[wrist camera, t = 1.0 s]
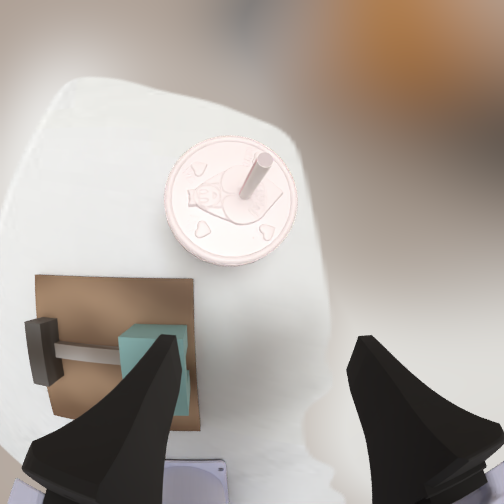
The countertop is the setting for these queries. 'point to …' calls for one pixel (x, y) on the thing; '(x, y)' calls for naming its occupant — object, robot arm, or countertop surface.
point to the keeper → (138, 344)
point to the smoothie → (230, 200)
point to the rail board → (101, 336)
